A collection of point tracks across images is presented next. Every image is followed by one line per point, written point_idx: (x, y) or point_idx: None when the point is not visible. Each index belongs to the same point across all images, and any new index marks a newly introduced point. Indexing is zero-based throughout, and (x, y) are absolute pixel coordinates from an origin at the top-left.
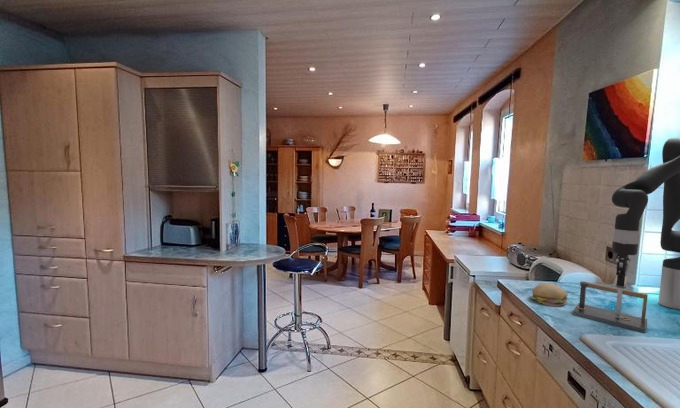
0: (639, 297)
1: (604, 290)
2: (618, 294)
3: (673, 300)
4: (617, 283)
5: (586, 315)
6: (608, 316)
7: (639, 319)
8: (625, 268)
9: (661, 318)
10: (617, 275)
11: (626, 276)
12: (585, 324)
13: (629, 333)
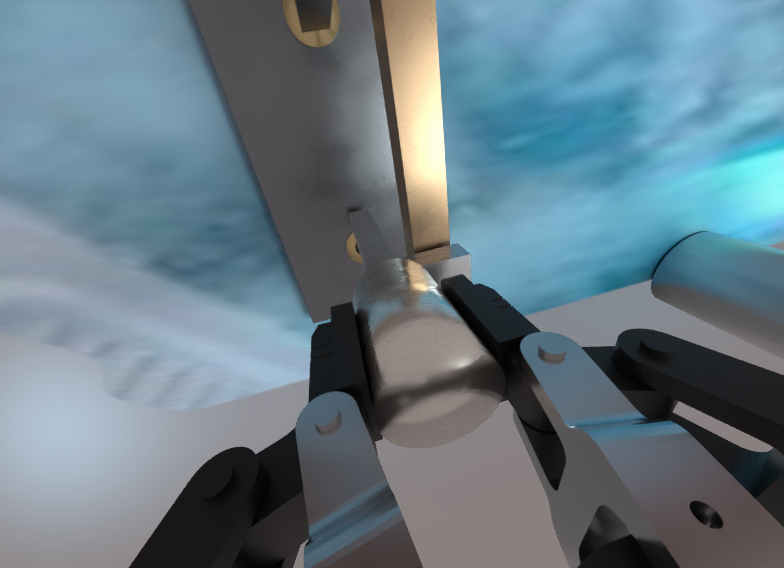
0: None
1: (391, 147)
2: (364, 263)
3: (685, 290)
4: (331, 321)
5: (224, 89)
6: (321, 188)
7: None
8: (568, 518)
9: (525, 290)
10: (305, 415)
11: (418, 439)
12: (111, 129)
13: (247, 290)
